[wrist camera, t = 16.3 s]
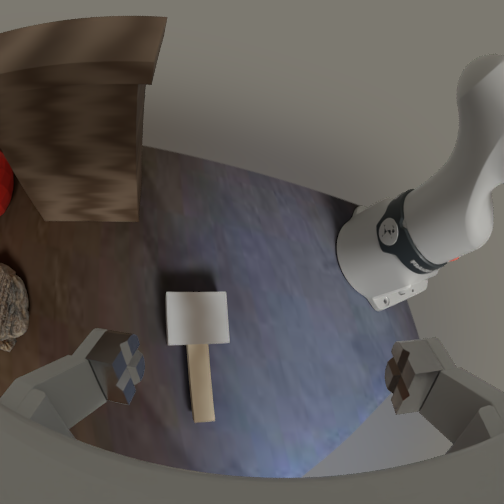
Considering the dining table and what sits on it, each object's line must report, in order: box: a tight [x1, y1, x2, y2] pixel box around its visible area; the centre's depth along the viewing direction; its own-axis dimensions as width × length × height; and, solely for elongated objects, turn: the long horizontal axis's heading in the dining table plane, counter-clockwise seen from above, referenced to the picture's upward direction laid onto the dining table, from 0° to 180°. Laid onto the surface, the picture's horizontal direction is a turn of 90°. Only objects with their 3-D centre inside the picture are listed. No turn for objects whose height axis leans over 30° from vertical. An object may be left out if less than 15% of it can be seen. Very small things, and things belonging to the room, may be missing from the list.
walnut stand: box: [0, 16, 167, 222], centre depth 25 cm, size 16×7×26 cm, turn 95°
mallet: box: [165, 292, 230, 423], centre depth 33 cm, size 7×16×4 cm, turn 5°
